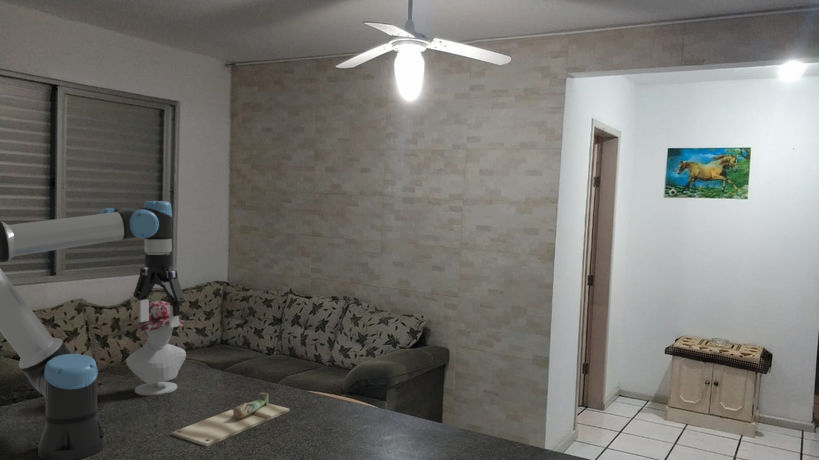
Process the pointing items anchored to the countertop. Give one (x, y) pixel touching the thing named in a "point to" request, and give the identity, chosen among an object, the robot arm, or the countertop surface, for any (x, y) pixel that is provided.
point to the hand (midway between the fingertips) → (158, 324)
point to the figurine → (251, 406)
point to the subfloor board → (227, 425)
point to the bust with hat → (157, 353)
